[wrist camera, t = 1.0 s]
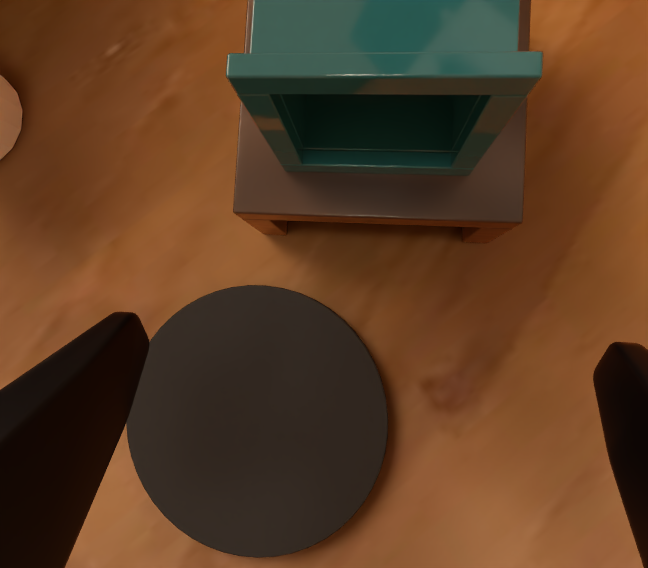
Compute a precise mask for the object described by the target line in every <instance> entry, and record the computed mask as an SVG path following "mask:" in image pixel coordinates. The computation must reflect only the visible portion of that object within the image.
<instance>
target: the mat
mask: <svg viewBox="0 0 648 568" xmlns="http://www.w3.org/2000/svg"><path fill="white" fill-rule="evenodd" d="M126 424H127V437H128V443H129V448H130V453H131V457H132V460H133V463H134V466H135V469H136V472H137V474H138V476H139V478H140V480H141V482H142V484H143V487H144V488H145V490H146V492H147V493H148V495H149V496H150V498H151V499H152V501H153V503H154V504H155V505H156V506H157V507H158V509H159V510H160V511H161V512H162V513H163V515H164V516H165V517H166V518H167V519H168V520H170V521H171V522H172V523H173V524H174V525H175V526H176V527H177V528H178V529H180V530H181V531H183V532H184V533H185V534H187V535H188V536H190V537H191V538H193V539H194V540H196V541H198V542H200V543H202V544H204V545H206V546H208V547H211V548H213V549H216V550H219V551H221V552H224V553H229V554H233V555H238V556H246V557H257V558H258V557H275V556H280V555H286V554H291V553H294V552H297V551H300V550H303V549H306V548H309V547H311V546H313V545H315V544H316V543H318V542H320V541H322V540H324V539H326V538H327V537H329V536H330V535H331V534H333V533H334V532H336V531H337V530H339V529H340V528H341V527H342V526H343V525H344V524H345V523H346V522H347V521H348V520H349V519H350V518H352V517H353V515H354V514H355V513H356V512H357V510H358V509H359V508H360V507H361V505H362V504H363V503H364V501H365V500H366V498H367V496H368V495H369V493H370V491H371V490H372V488H373V486H374V484H375V481H376V479H377V477H378V474H379V472H380V470H381V466H382V462H383V459H384V455H385V451H386V444H387V437H388V412H387V404H386V396H385V392H384V388H383V384H382V380H381V377H380V374H379V372H378V369H377V367H376V364H375V362H374V360H373V358H372V356H371V355H370V353H369V351H368V349H367V347H366V346H365V344H364V343H363V342H362V340H361V339H360V338H359V336H358V335H357V334H356V332H355V331H354V330H353V329H352V328H351V327H350V326H349V325H348V324H347V323H346V322H345V321H344V320H343V319H342V318H341V317H340V316H338V315H337V314H336V313H335V312H333V311H332V310H331V309H329V308H328V307H326V306H324V305H323V304H321V303H320V302H318V301H316V300H314V299H312V298H310V297H307V296H305V295H303V294H301V293H298V292H294V291H291V290H287V289H284V288H278V287H271V286H258V285H247V286H239V287H231V288H227V289H223V290H219V291H216V292H213V293H211V294H208V295H206V296H203V297H201V298H199V299H197V300H195V301H194V302H192V303H190V304H188V305H187V306H185V307H184V308H182V309H181V310H180V311H178V312H177V313H176V314H174V315H173V316H172V317H171V318H170V319H169V320H168V321H167V322H166V323H165V324H164V325H163V326H162V327H161V328H160V329H159V330H158V332H157V333H156V334H155V335H154V337H153V338H152V339H151V341H150V342H149V351H148V355H147V358H146V361H145V365H144V368H143V371H142V375H141V378H140V381H139V385H138V388H137V391H136V394H135V398H134V401H133V404H132V408H131V411H130V414H129V416H128V419H127V422H126Z"/></svg>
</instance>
